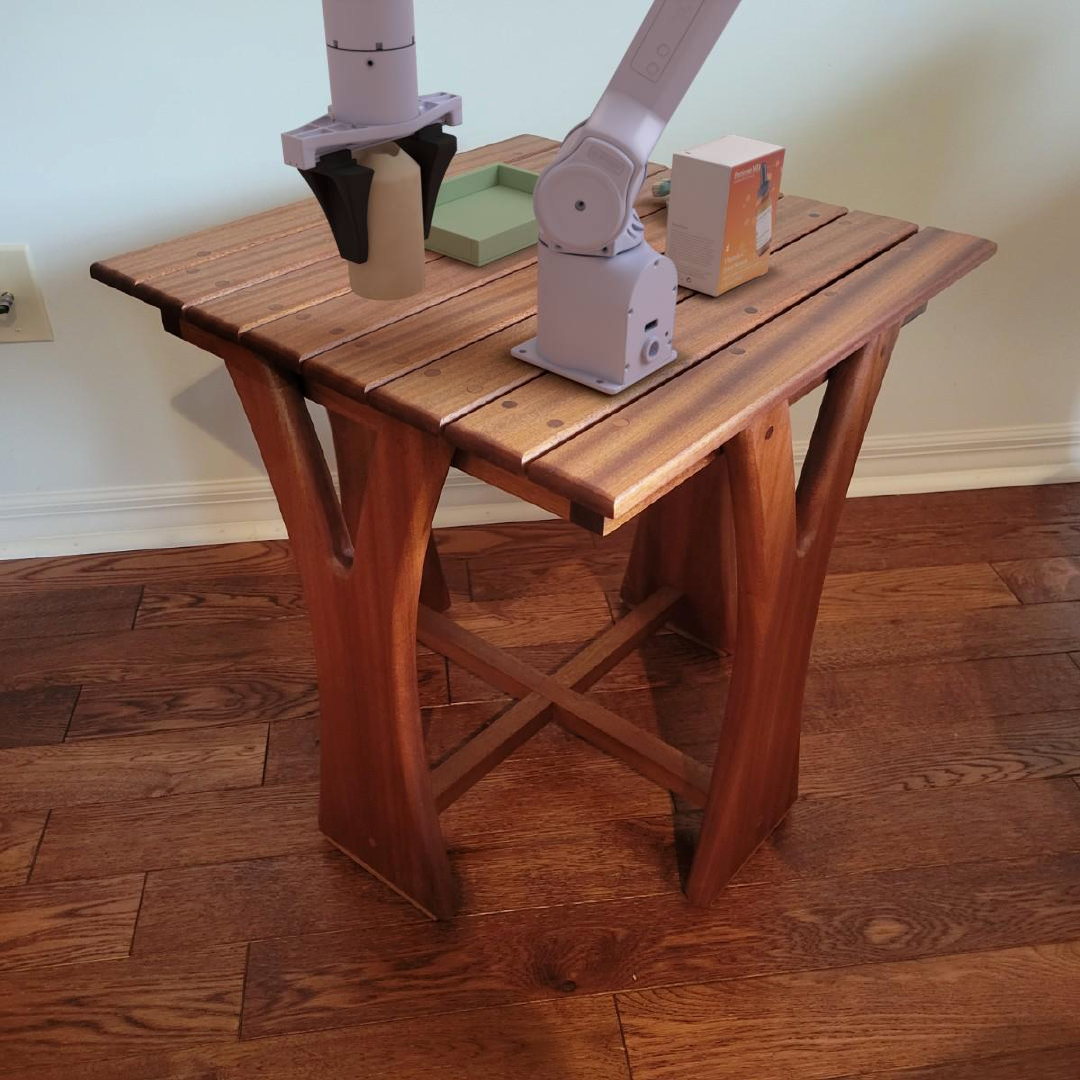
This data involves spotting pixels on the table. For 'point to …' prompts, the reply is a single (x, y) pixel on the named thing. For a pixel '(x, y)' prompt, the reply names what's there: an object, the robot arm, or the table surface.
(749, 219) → the small box
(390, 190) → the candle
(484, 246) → the green tray
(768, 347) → the table surface
